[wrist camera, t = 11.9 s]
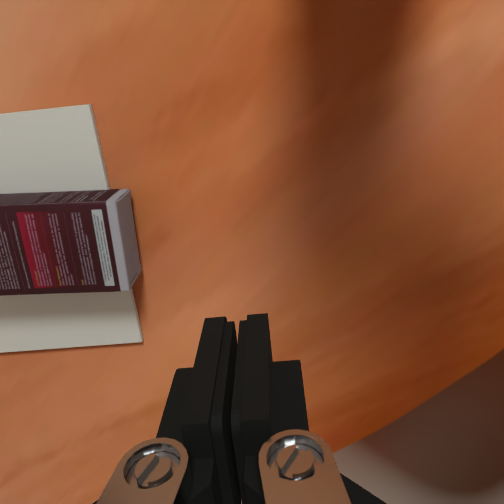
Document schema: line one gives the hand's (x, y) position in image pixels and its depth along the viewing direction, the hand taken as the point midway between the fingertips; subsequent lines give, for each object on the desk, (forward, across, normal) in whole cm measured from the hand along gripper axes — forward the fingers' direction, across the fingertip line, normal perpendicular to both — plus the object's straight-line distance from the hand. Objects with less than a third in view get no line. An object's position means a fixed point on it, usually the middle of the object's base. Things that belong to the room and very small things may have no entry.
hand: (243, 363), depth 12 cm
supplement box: (+28, +12, +6) cm, 31 cm away
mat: (+31, +22, +6) cm, 39 cm away
